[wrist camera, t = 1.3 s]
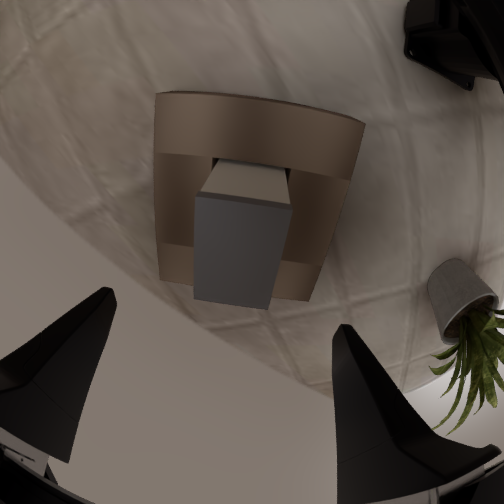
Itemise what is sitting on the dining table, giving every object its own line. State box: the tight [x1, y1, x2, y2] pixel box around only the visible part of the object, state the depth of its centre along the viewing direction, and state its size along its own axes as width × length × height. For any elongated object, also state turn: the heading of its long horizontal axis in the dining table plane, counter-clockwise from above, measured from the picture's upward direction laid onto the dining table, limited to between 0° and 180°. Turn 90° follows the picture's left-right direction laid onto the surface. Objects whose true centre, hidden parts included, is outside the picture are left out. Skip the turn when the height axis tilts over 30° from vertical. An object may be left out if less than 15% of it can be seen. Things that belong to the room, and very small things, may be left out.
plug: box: [194, 158, 293, 310], centre depth 16 cm, size 4×6×7 cm
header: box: [154, 91, 366, 302], centre depth 18 cm, size 12×14×3 cm
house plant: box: [427, 259, 504, 435], centre depth 17 cm, size 14×14×16 cm
